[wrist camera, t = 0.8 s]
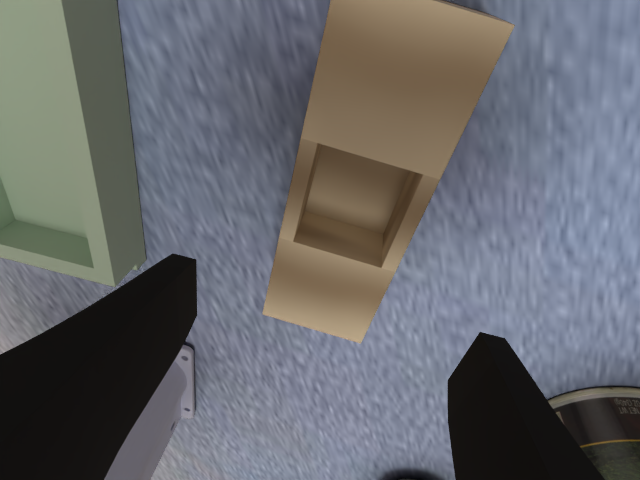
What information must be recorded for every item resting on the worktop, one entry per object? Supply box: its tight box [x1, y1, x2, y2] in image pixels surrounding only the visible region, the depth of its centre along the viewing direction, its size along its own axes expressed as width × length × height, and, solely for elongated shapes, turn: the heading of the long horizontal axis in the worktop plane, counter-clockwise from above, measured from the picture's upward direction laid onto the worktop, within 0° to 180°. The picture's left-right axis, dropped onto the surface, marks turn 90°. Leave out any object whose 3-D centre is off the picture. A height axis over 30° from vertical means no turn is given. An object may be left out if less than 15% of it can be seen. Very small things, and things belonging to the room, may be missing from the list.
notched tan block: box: [263, 0, 515, 343], centre depth 16 cm, size 14×5×4 cm, turn 166°
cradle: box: [0, 0, 146, 287], centre depth 16 cm, size 18×8×3 cm, turn 169°
